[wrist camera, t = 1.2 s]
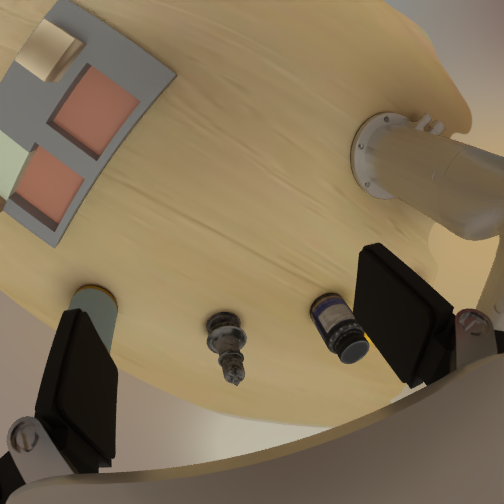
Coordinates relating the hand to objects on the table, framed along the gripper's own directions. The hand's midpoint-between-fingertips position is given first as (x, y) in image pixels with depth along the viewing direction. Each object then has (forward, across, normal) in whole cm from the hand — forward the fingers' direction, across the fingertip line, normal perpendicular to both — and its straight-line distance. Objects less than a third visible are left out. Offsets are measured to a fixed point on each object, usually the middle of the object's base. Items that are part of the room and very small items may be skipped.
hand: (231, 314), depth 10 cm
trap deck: (+29, +15, -8) cm, 34 cm away
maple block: (+26, +13, -16) cm, 33 cm away
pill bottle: (+28, -17, +27) cm, 43 cm away
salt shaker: (+28, 0, +26) cm, 39 cm away
